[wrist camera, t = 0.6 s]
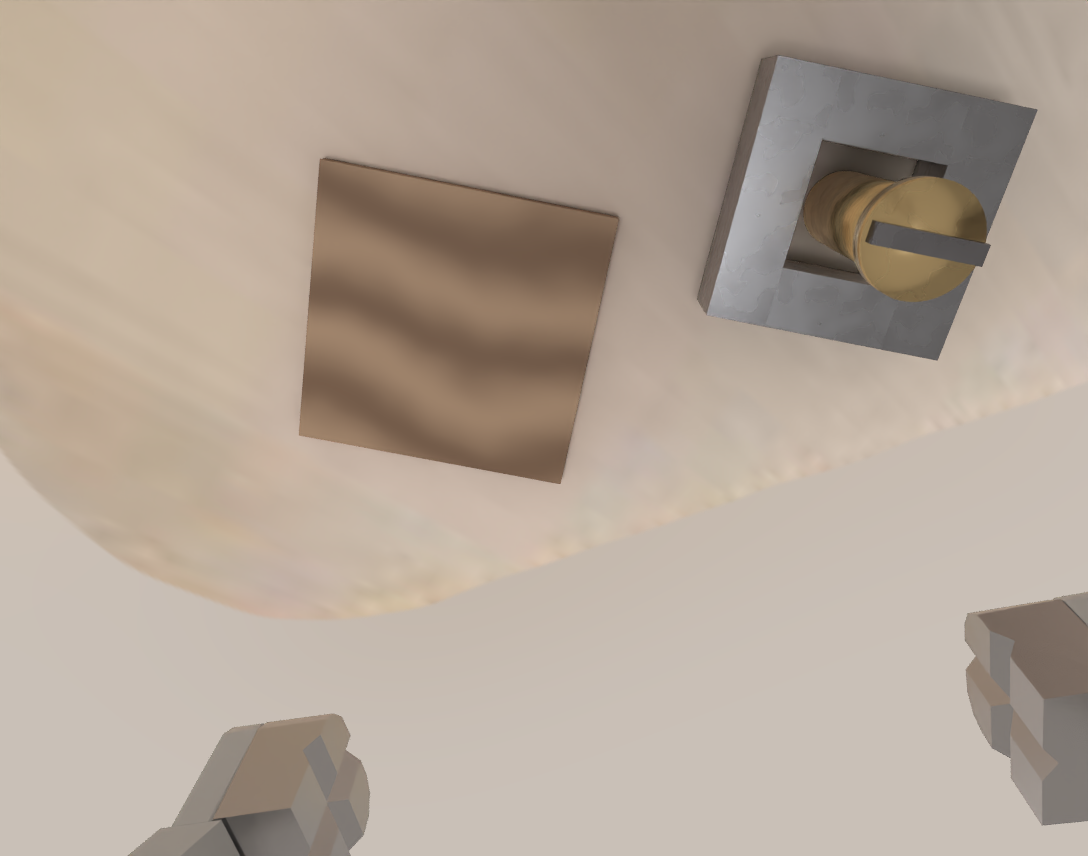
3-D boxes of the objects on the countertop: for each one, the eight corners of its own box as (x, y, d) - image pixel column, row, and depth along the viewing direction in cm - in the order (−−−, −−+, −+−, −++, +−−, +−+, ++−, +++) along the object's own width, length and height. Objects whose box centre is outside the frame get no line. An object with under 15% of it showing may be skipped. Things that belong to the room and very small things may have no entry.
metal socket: (761, 59, 45) (778, 55, 41) (999, 109, 45) (1037, 109, 41) (696, 299, 50) (706, 315, 46) (910, 341, 50) (937, 360, 47)
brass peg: (810, 151, 46) (892, 167, 34) (902, 170, 47) (1016, 193, 35) (781, 246, 48) (849, 293, 36) (869, 263, 49) (966, 316, 37)
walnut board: (324, 158, 47) (319, 159, 46) (618, 216, 48) (618, 219, 47) (303, 429, 54) (298, 435, 53) (560, 477, 55) (560, 484, 54)
